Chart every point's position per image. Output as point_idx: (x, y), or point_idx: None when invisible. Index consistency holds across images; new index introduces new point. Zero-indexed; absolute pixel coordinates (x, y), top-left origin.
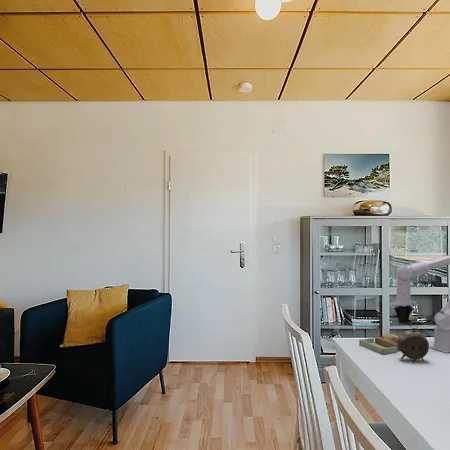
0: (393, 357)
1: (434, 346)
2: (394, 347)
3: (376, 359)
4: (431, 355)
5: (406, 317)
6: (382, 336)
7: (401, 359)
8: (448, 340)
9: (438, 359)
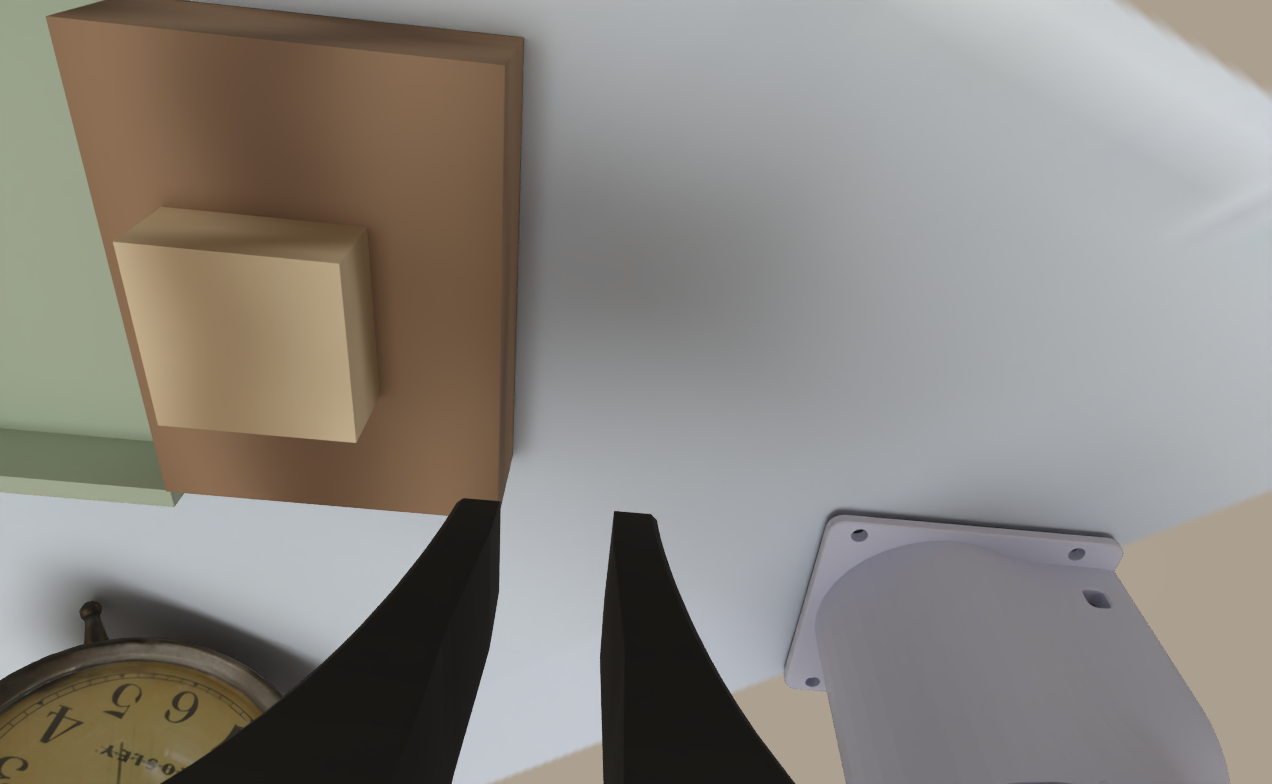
0: (47, 529)
1: (860, 571)
2: (121, 501)
3: None
4: (563, 650)
5: (603, 712)
6: (274, 49)
7: (92, 608)
8: None
9: (517, 725)
